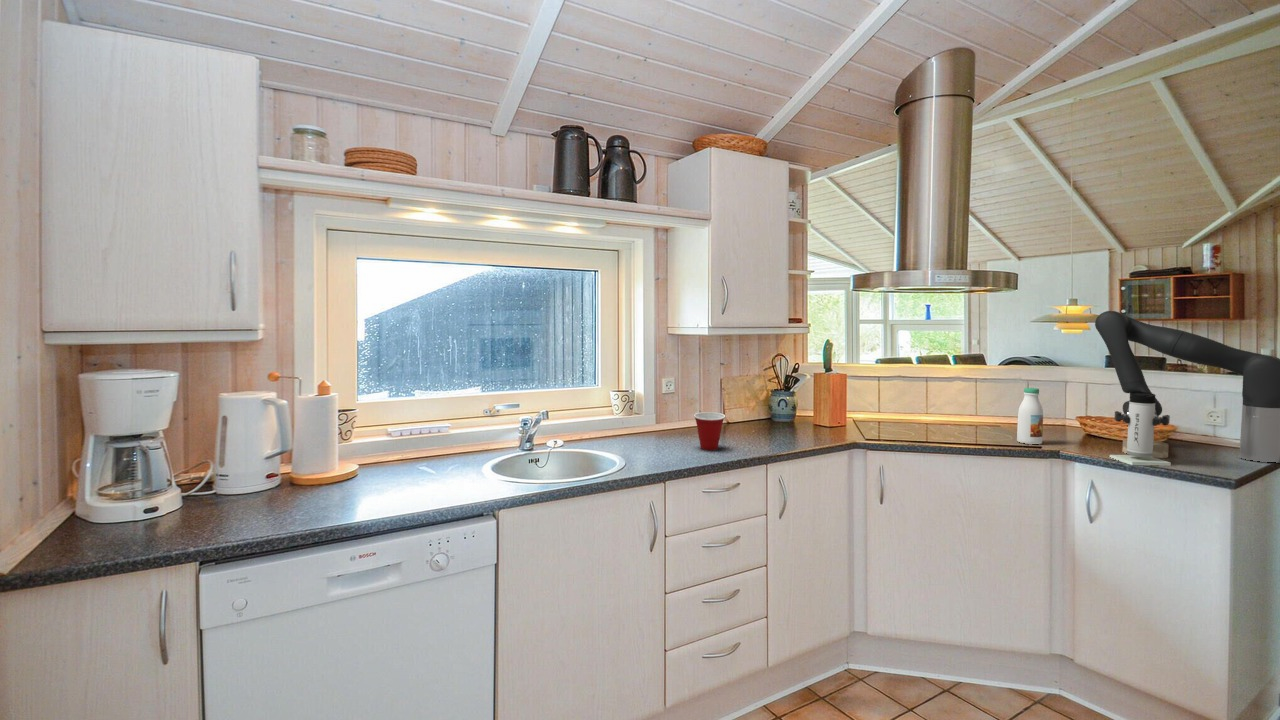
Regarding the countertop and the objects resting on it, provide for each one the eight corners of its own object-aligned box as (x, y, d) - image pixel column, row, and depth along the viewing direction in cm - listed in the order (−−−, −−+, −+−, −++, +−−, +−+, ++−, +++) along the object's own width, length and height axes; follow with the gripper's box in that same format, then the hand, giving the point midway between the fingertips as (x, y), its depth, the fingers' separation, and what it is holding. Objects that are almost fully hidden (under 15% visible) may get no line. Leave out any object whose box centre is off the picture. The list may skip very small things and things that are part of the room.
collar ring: (1150, 450, 205) (1150, 439, 205) (1176, 458, 194) (1177, 446, 194) (1114, 450, 206) (1115, 438, 206) (1139, 457, 195) (1139, 445, 195)
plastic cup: (694, 452, 202) (694, 416, 202) (692, 445, 213) (692, 411, 213) (726, 452, 202) (727, 416, 201) (723, 445, 213) (723, 412, 212)
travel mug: (1142, 452, 192) (1145, 390, 190) (1157, 457, 185) (1161, 393, 184) (1121, 452, 193) (1124, 390, 191) (1135, 457, 186) (1139, 392, 185)
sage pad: (1146, 458, 193) (1146, 455, 193) (1170, 465, 184) (1170, 462, 183) (1109, 457, 194) (1109, 454, 194) (1132, 465, 184) (1132, 461, 184)
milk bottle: (1020, 444, 216) (1022, 389, 215) (1014, 440, 223) (1016, 386, 222) (1045, 445, 214) (1047, 389, 212) (1037, 441, 221) (1040, 387, 220)
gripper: (1114, 401, 203) (1112, 407, 191) (1171, 405, 194) (1172, 411, 181) (1113, 423, 204) (1111, 430, 191) (1169, 428, 195) (1171, 436, 182)
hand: (1141, 421), depth 186 cm, fingers closed on travel mug, 6 cm apart
